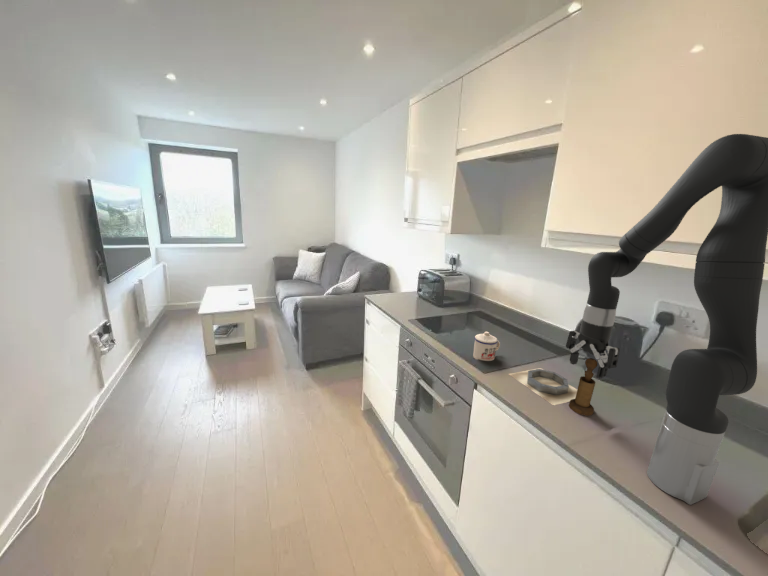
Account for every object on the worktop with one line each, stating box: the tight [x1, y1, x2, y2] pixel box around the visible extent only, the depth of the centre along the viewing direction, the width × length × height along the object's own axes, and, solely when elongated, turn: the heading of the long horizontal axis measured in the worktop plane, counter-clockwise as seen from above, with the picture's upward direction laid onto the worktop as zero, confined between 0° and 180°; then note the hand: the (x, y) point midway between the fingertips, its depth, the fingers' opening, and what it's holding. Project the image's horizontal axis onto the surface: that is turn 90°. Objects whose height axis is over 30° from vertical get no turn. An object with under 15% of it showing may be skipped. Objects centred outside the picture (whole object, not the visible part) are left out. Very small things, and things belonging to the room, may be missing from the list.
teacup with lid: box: [472, 331, 501, 362], centre depth 127 cm, size 12×9×12 cm
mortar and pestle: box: [568, 357, 598, 417], centre depth 93 cm, size 7×6×18 cm
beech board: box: [508, 367, 578, 406], centre depth 108 cm, size 20×16×1 cm
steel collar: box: [527, 368, 569, 396], centre depth 108 cm, size 12×12×2 cm
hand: (586, 370), depth 93 cm, fingers open, 8 cm apart
